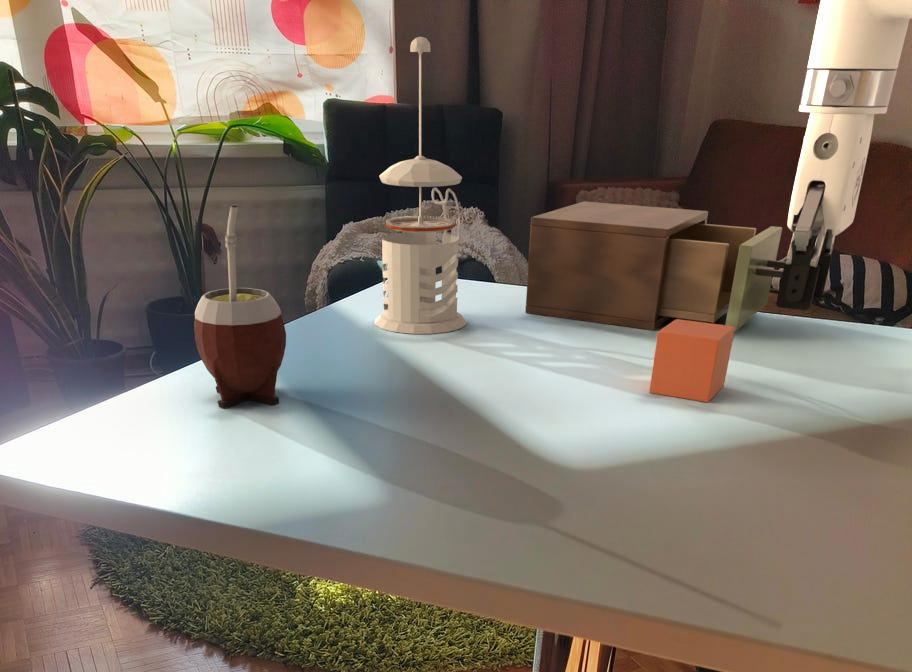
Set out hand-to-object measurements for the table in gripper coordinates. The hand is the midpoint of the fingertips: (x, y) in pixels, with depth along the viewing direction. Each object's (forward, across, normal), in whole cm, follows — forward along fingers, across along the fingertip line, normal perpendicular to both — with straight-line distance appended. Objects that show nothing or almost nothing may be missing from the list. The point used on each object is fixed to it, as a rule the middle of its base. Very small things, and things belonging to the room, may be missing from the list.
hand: (799, 299), depth 90 cm
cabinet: (+3, 0, +20) cm, 20 cm away
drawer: (+2, 0, +9) cm, 9 cm away
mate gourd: (+3, -46, +34) cm, 57 cm away
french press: (+3, -16, +35) cm, 38 cm away
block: (+3, -25, +4) cm, 25 cm away
